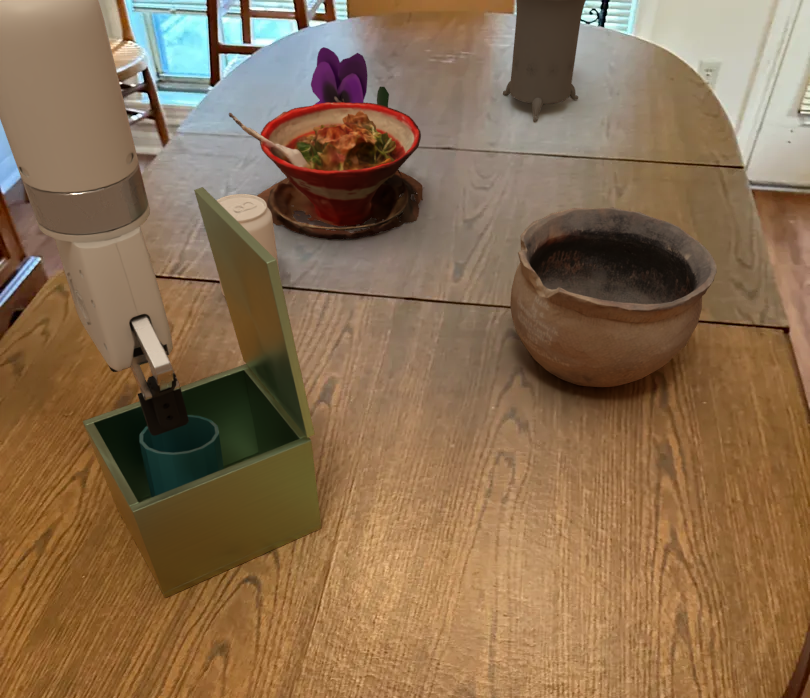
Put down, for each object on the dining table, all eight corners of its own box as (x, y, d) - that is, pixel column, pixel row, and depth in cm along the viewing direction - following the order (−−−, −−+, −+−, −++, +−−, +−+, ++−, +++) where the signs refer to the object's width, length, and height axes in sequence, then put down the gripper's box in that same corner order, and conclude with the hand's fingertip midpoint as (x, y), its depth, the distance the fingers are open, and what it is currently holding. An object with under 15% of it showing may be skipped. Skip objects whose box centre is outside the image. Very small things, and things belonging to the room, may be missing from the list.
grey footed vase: (574, 125, 146) (599, -38, 127) (495, 119, 148) (508, -42, 129) (579, 88, 158) (602, -66, 139) (505, 83, 160) (519, -70, 141)
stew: (238, 252, 115) (219, 138, 103) (253, 179, 131) (238, 72, 119) (429, 249, 116) (432, 136, 104) (421, 177, 131) (423, 70, 119)
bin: (165, 598, 73) (132, 512, 64) (117, 509, 81) (82, 420, 72) (321, 528, 79) (311, 440, 70) (263, 451, 87) (247, 362, 78)
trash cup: (175, 547, 74) (158, 462, 68) (145, 511, 79) (127, 428, 73) (242, 521, 78) (232, 438, 72) (210, 488, 82) (198, 407, 76)
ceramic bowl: (474, 331, 102) (483, 220, 91) (619, 299, 107) (645, 189, 96) (556, 437, 88) (578, 322, 77) (717, 394, 94) (761, 280, 82)
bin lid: (266, 263, 56) (276, 259, 57) (193, 189, 64) (202, 186, 64) (307, 438, 70) (315, 434, 70) (243, 360, 77) (250, 357, 78)
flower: (344, 146, 151) (290, 128, 141) (369, 61, 145) (315, 36, 135) (394, 171, 144) (342, 154, 134) (423, 82, 137) (371, 58, 127)
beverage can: (210, 290, 108) (193, 205, 99) (259, 270, 112) (247, 186, 103) (243, 315, 104) (229, 229, 95) (293, 293, 108) (283, 208, 99)
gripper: (0, 160, 57) (73, 357, 70) (71, 267, 47) (141, 472, 60) (102, 138, 59) (154, 332, 72) (189, 235, 50) (231, 438, 63)
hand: (148, 395), depth 66 cm, fingers open, 9 cm apart
